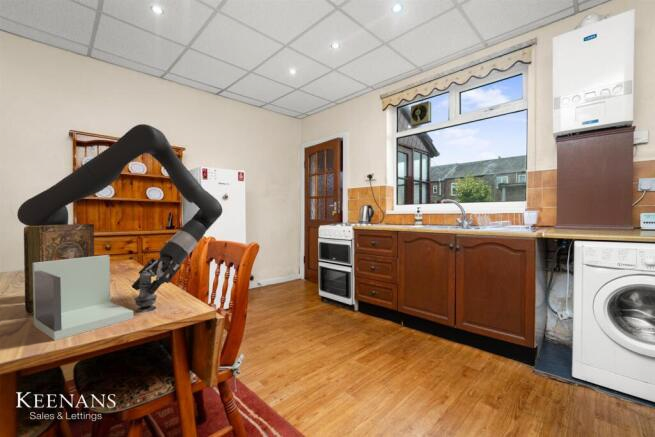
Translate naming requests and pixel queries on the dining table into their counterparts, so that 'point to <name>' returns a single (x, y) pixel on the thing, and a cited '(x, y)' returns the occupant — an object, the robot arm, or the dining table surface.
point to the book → (54, 249)
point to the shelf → (74, 296)
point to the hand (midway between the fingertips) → (141, 290)
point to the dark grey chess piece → (145, 294)
